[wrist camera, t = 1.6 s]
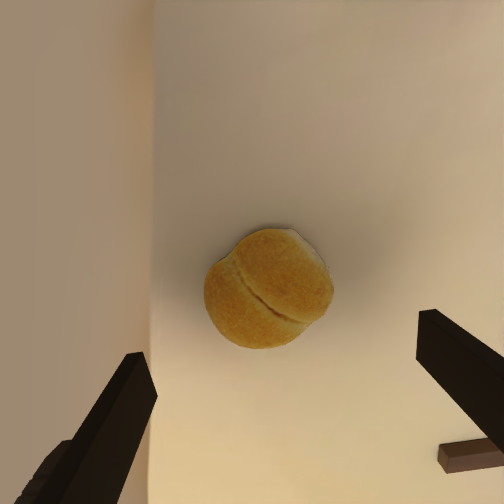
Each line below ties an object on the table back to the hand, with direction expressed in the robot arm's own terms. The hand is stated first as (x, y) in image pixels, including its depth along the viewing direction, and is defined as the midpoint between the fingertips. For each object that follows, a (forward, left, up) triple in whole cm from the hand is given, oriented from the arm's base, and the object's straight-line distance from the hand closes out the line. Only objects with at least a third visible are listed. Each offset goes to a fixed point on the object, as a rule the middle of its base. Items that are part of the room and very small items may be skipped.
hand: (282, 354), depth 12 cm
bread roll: (0, 0, -8) cm, 8 cm away
